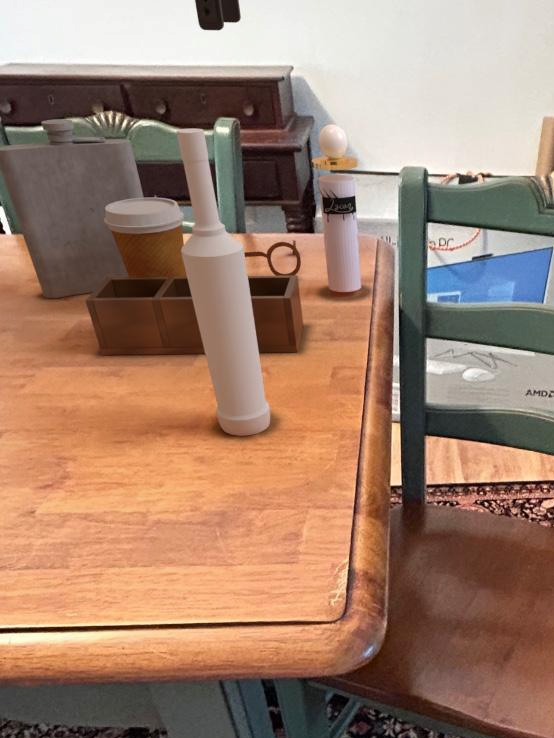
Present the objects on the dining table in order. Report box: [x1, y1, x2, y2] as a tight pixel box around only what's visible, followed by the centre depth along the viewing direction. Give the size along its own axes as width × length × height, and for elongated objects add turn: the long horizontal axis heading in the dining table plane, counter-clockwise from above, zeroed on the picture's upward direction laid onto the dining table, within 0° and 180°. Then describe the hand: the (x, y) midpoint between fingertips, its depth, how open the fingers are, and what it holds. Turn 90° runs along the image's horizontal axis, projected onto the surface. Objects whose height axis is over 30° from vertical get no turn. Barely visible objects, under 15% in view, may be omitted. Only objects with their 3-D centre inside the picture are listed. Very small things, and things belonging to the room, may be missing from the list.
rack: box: [85, 274, 305, 356], centre depth 87 cm, size 23×8×6 cm, turn 93°
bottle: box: [175, 127, 271, 437], centre depth 65 cm, size 5×5×25 cm
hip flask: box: [0, 118, 145, 299], centre depth 97 cm, size 16×4×20 cm, turn 114°
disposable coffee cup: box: [104, 197, 187, 277], centre depth 95 cm, size 10×10×12 cm
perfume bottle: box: [311, 123, 362, 293], centre depth 97 cm, size 6×6×20 cm
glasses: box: [244, 239, 302, 276], centre depth 109 cm, size 13×13×5 cm
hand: (221, 25), depth 72 cm, fingers open, 8 cm apart
